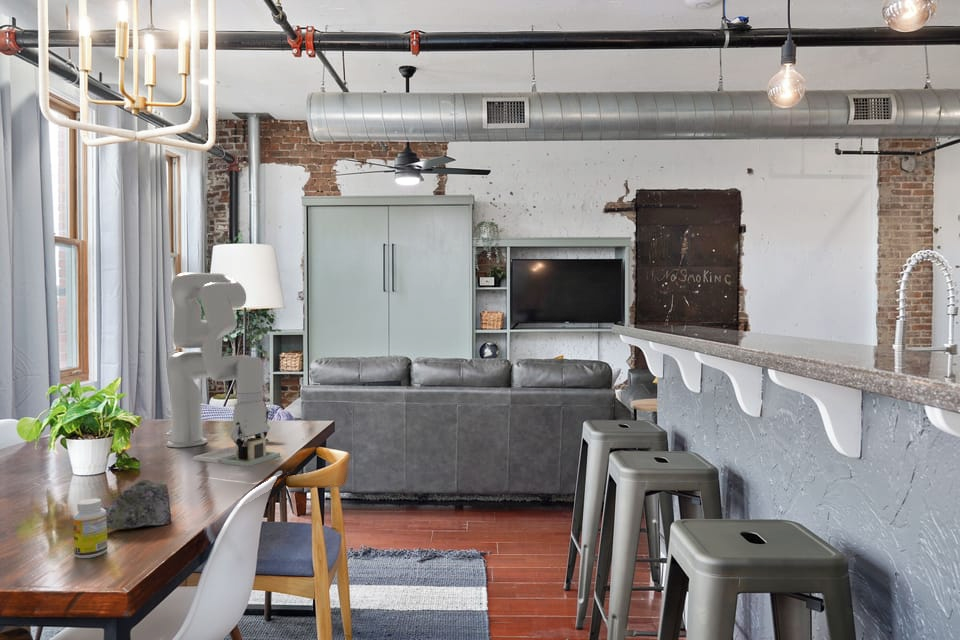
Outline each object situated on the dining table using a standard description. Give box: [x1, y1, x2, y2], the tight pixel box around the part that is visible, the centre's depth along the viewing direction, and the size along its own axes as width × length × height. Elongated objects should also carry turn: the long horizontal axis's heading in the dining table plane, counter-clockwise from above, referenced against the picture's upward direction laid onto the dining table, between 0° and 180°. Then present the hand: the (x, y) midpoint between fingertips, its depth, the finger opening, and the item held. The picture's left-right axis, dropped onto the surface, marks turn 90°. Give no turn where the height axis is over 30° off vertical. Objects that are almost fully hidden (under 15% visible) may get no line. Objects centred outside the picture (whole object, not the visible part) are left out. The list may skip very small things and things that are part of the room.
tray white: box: [193, 446, 236, 464], centre depth 211 cm, size 10×14×2 cm
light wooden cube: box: [235, 436, 267, 462], centre depth 206 cm, size 6×6×6 cm
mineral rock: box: [102, 479, 172, 530], centre depth 146 cm, size 13×11×10 cm
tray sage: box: [221, 450, 281, 467], centre depth 206 cm, size 10×14×2 cm
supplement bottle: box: [72, 498, 108, 559], centre depth 130 cm, size 6×6×10 cm
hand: (251, 456), depth 206 cm, fingers closed on light wooden cube, 5 cm apart
